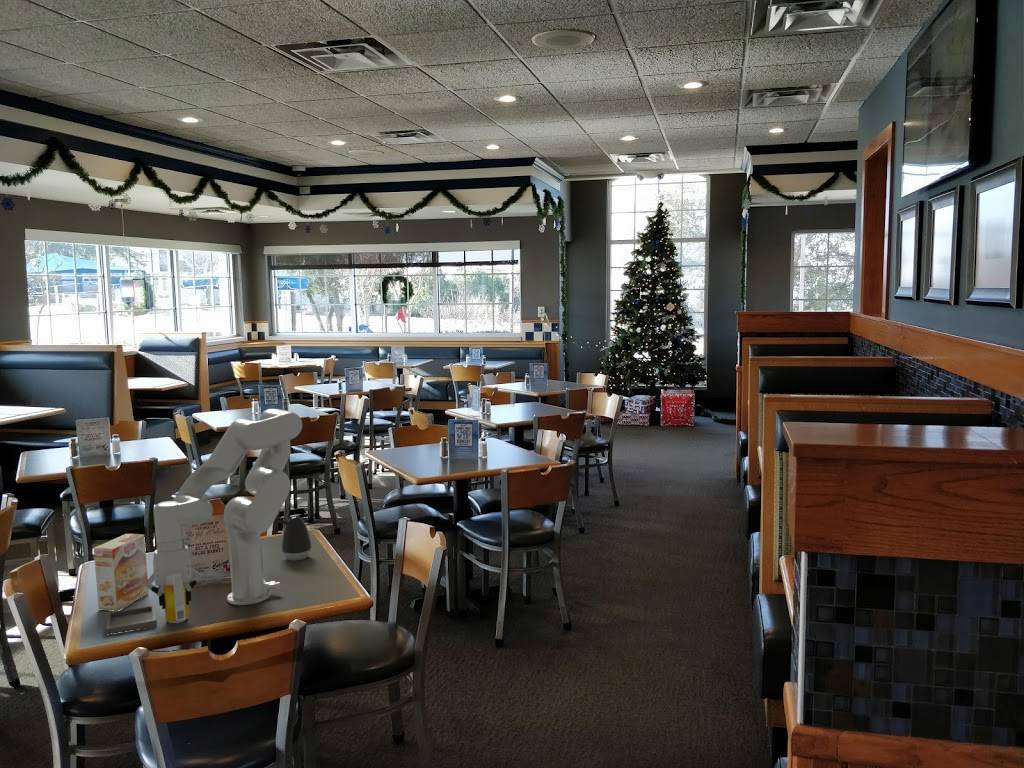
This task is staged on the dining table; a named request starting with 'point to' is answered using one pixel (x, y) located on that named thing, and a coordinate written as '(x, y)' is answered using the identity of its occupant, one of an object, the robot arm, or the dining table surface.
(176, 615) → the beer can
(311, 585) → the dining table surface
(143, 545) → the coffeecake box
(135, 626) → the tray
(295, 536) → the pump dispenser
